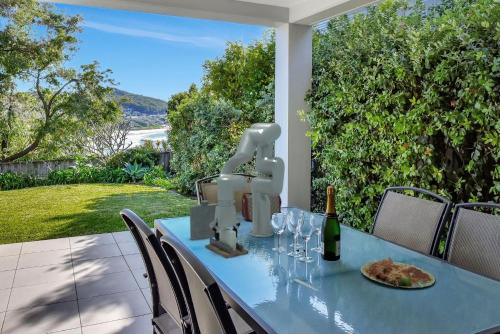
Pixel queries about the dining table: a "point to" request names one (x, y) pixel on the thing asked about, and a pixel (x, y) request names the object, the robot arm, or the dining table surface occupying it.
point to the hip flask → (202, 220)
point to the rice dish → (397, 273)
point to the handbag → (248, 205)
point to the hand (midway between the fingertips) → (226, 238)
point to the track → (226, 249)
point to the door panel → (228, 237)
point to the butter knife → (305, 284)
